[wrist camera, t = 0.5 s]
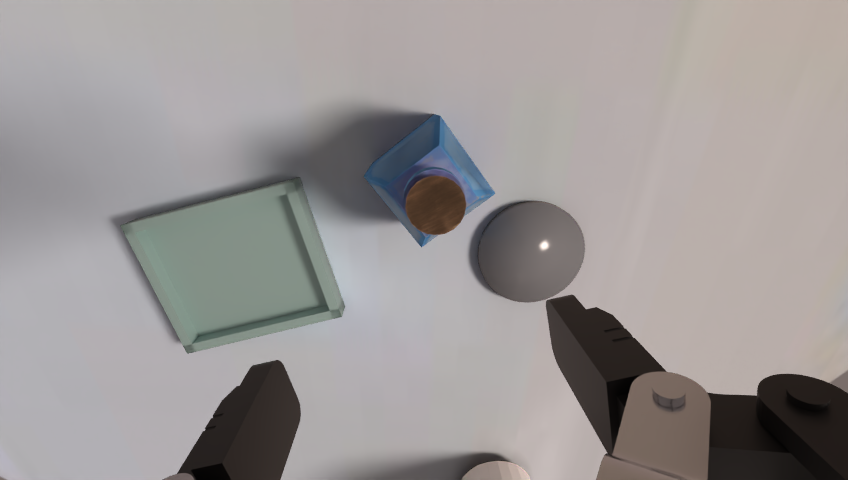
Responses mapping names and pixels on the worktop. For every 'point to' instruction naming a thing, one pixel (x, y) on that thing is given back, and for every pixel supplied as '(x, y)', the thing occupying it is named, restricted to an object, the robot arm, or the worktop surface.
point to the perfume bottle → (429, 181)
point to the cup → (496, 472)
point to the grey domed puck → (531, 251)
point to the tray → (238, 265)
